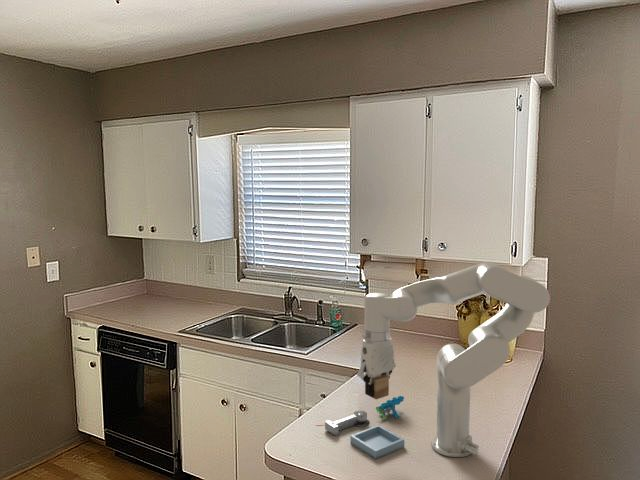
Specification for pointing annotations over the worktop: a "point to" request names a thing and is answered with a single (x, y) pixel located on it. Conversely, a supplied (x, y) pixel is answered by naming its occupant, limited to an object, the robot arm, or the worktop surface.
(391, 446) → the tray
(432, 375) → the worktop surface
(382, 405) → the gear
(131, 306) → the worktop surface
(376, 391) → the block
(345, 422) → the lever
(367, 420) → the pivot base
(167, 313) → the worktop surface
